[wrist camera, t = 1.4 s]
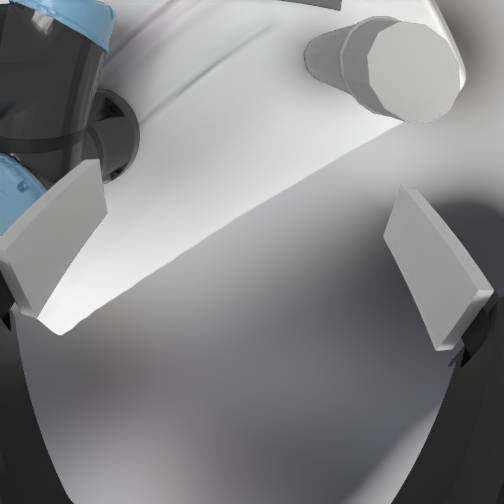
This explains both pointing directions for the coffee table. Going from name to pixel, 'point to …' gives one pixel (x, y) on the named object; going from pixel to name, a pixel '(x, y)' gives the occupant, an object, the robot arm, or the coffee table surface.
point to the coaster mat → (321, 3)
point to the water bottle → (388, 67)
